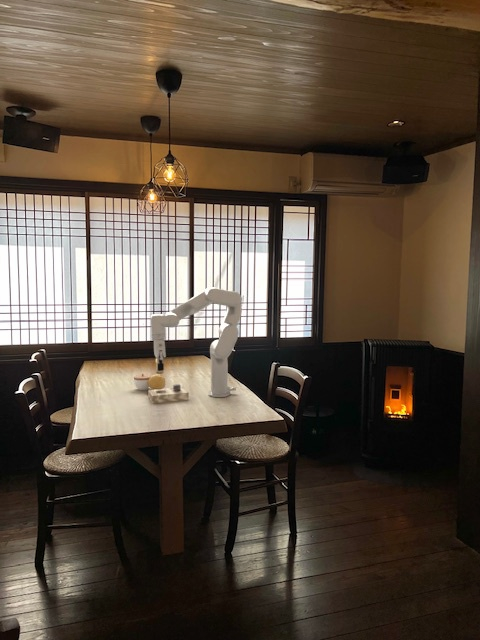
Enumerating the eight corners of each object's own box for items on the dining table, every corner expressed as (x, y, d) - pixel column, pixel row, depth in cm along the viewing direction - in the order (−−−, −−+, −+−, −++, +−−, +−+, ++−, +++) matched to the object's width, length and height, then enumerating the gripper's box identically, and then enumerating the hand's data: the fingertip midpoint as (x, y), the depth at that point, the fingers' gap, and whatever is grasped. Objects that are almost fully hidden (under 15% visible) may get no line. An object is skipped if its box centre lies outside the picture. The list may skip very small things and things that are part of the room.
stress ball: (146, 393, 277) (152, 385, 270) (145, 378, 282) (150, 370, 275) (163, 394, 281) (168, 386, 274) (161, 379, 287) (167, 371, 280)
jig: (183, 393, 272) (182, 381, 271) (188, 399, 260) (188, 387, 259) (148, 397, 265) (148, 384, 265) (152, 403, 253) (151, 390, 253)
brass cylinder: (163, 371, 263) (162, 357, 262) (164, 373, 259) (163, 359, 258) (155, 372, 261) (155, 358, 260) (157, 374, 257) (156, 359, 257)
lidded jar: (130, 390, 280) (130, 375, 279) (138, 386, 290) (138, 371, 289) (147, 391, 277) (147, 376, 276) (155, 387, 288) (154, 372, 287)
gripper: (168, 338, 251) (169, 372, 253) (162, 334, 267) (163, 366, 269) (154, 339, 249) (155, 373, 251) (149, 335, 264) (150, 367, 266)
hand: (160, 369), depth 260 cm, fingers closed on brass cylinder, 4 cm apart
